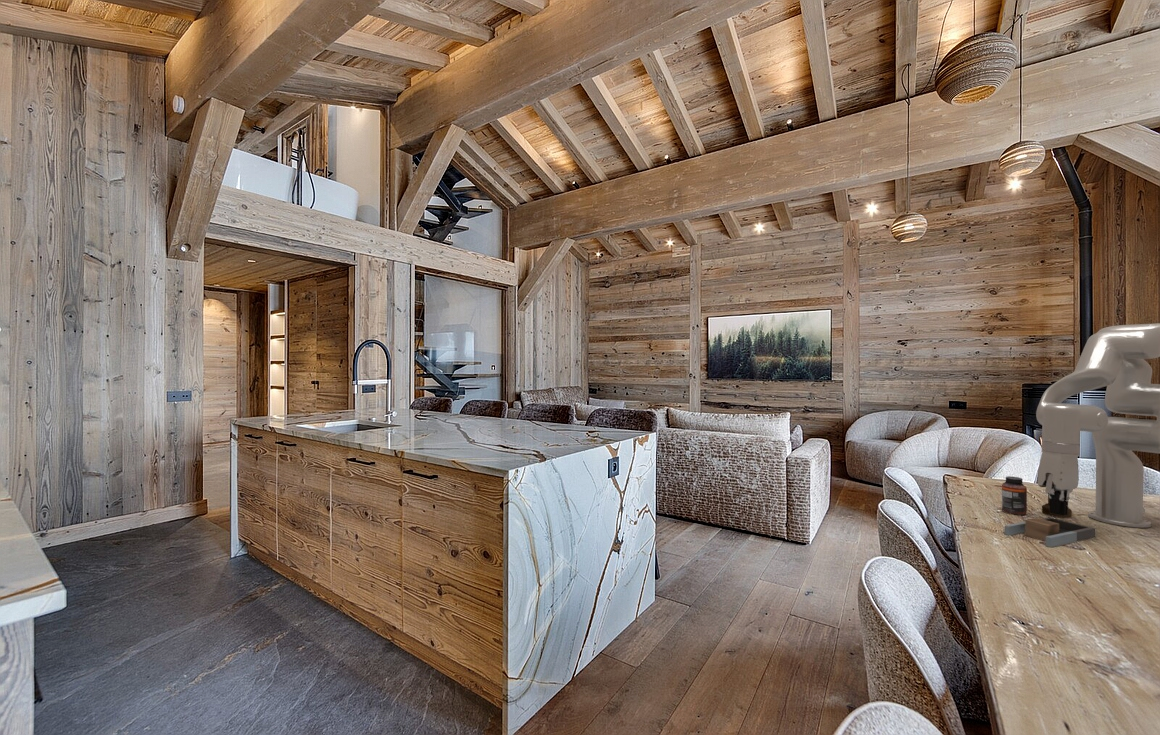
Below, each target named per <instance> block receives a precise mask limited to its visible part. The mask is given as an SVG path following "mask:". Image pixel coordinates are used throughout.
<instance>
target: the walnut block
mask: <svg viewBox="0 0 1160 735" xmlns="http://www.w3.org/2000/svg"><path fill="white" fill-rule="evenodd" d="M1024 522H1025V532H1024V535H1025V536H1026V537H1030V538H1033V539H1035V540H1036V539H1037V540H1040V541H1044V542H1046V536H1051V535H1056V534H1059V523H1055V522H1051V521H1047V520H1043V519H1042V518H1038V517H1033V518H1029V519H1025V521H1024Z"/></svg>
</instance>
